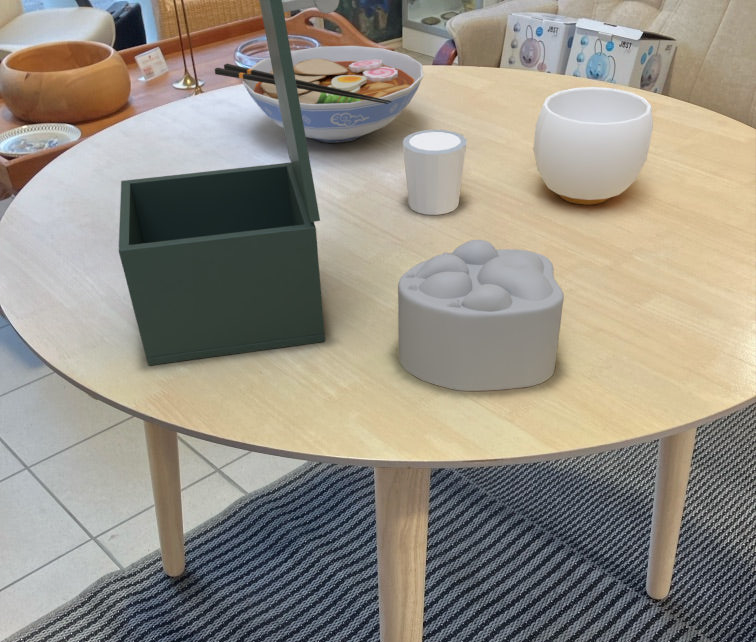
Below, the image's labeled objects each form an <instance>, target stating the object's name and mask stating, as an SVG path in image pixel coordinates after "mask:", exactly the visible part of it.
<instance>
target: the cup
mask: <svg viewBox="0 0 756 642" xmlns="http://www.w3.org/2000/svg"><path fill="white" fill-rule="evenodd" d="M653 119H654V118H653V106H652V105H651V104H650V102H649V101H648V100H647V99H646V98H645V97H643V96H641V95H639V94H637V93H634V92H632V91H627V90H623V89H618V88H614V87H603V86H602V87H601V86H586V87H585V86H584V87H572V88H569V89H563V90H559V91H556V92H554V93H553V94H550V95H549V96H547V97H546V98H545V100H544V101H543V104H542V106H541V108H540V111H539V114H538V117H537V120H536V123H535V128H534V137H533V148H532V149H533V153H534V159H535V165H536V170H537V171H538V173H539V176H541V180H543V182H544V183H545V186H546V187H547V189H549V190H550V191H552V192H554V193H555V194H557V195H559V196H560V198H561V199H563V200H565V201H566V202H569V203H573V204H576V205H583V206H584V205H585V206H588V205H590V206H591V205H597V204H602V203H604V202H606V201H608V199H611V198H613V197H617V196H619V195H621V194H622V193H624V192H625V191H627V189H628V188H630V187H631V185H633V184H634V182H636V181H637V179H638V178H639V175H640V174H641V171H642V170H643V167H644V165H645V163H646V161H647V160H648V156H649V150H650V145H651V140H652V134H653V130H654V120H653Z"/></svg>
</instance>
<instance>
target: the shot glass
mask: <svg viewBox="0 0 756 642" xmlns="http://www.w3.org/2000/svg"><path fill="white" fill-rule="evenodd" d="M467 143H468V140H467V138H466V137H465V136H464V135H463V134H461V133H458V132H456V131H452V130H446V129H426V130H425V129H424V130H418V131H416V132H413V133H410V134H408V135H406V136H405V137H404V138H403V141H402V150H403V151H402V152H403V159H404V162H403V163H404V172H405V182H406V191H407V202H408V207H409V208H410V209H411V210H412V211H414V212H415V213H418V214H422V215H427V216H429V215H430V216H438V215H446V214H448V213H451V212H453V211H455V210H456V209H458V207H459V202H460V196H461V187H462V180H463V172H464V165H465V158H466V150H467Z"/></svg>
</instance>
